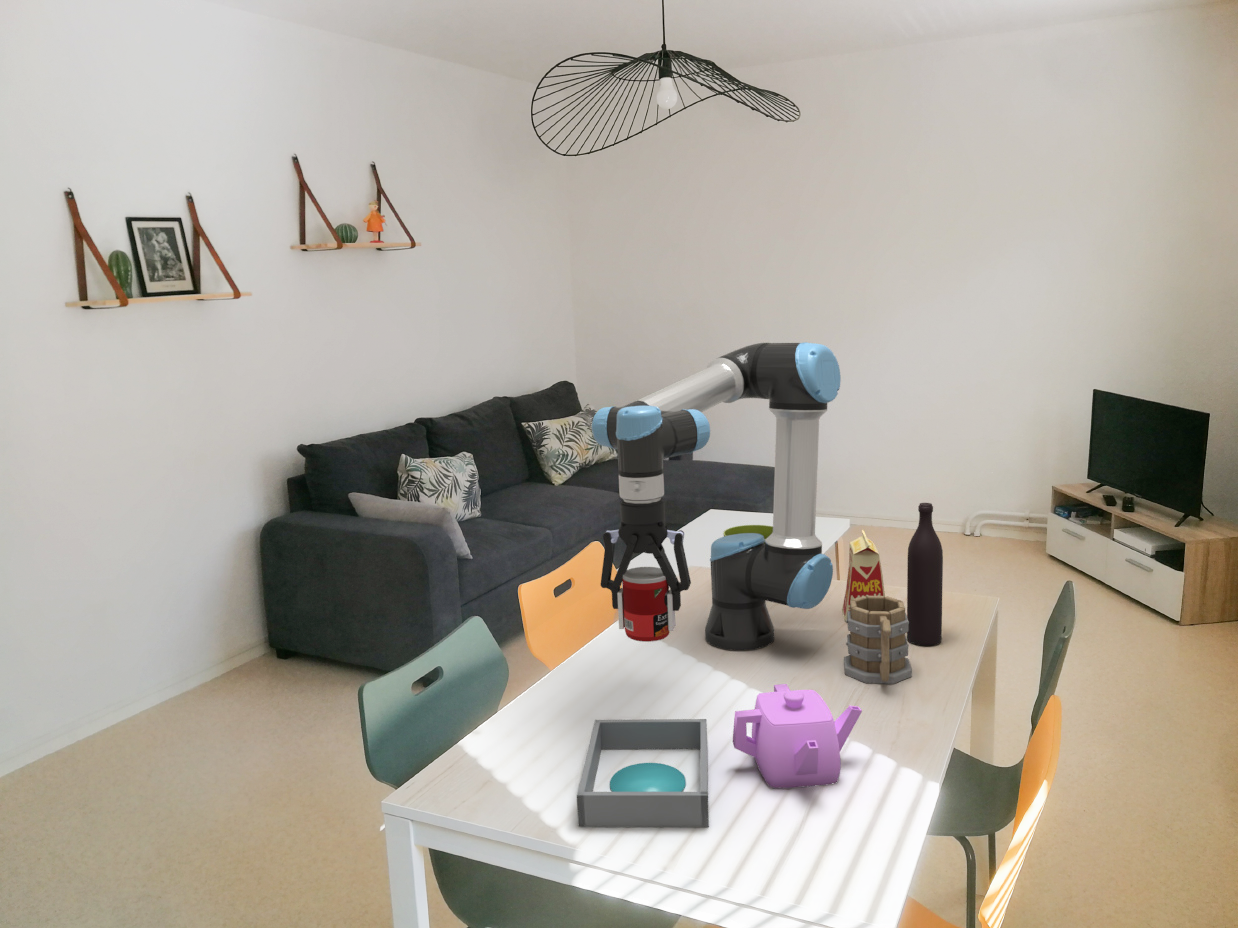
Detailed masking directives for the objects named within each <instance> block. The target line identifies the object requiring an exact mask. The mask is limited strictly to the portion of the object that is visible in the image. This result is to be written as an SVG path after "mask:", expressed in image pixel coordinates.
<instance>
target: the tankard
mask: <svg viewBox="0 0 1238 928" xmlns="http://www.w3.org/2000/svg"><path fill="white" fill-rule="evenodd" d="M905 606H906V605H905V604H904V601H902V600H900V599H897V598H895V597H894V598H893V597H891V596H890V597H889V596H887V595H885V596H866V597H865V596H862V597H859V598H856V599H853V600H851V601H850V611H848V612H847V620H846V624H847V630H848V631H849V634H847V635H846V637H847V638H846V639H847V641H846V643H845V645H846V646H847V652H848V655H846V656H844V657H843V666H844V675H846V676H848V677H850V678H853V679H856V680H858V681H860V682H862V683H864V684H876V685H878V684H883V685H895V684H897V683H899V682H901V681H904V680H906V679H908V678H911V677H912V675H913V674H912V673H913V672H912V669H913V668H912V666H911V662H910V659H909V658H908V656H909V643H908V639H907V635H906V634H907V632H908V624H909V621H908V619H907V612H906V607H905Z"/></svg>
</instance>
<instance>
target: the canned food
mask: <svg viewBox="0 0 1238 928" xmlns="http://www.w3.org/2000/svg"><path fill="white" fill-rule="evenodd" d="M621 586H622V588H623V605H624V624H625V627H624V632H625V635H626V637H627V638H628V639H631V640H633V641H636V642H647V643H649V642H657V641H661V640H664V639H665V638H667V637H669V635H670V632H671V631H669V628H668V601H667V594H668V592H669V590H670V587H669V585H668V583H667V581H666V578H665V576H664V575H663V573H662V570H661V568H660V567H656V566H639V567H638V566H637V567H632V568H628V569H627V571H626V572H625V574H624V575H623V578H622V583H621Z"/></svg>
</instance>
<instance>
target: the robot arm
mask: <svg viewBox="0 0 1238 928" xmlns="http://www.w3.org/2000/svg"><path fill="white" fill-rule="evenodd" d="M841 381H842V380H841V370H840V365H839V361H838V360H837V357H836V355H835V354H834V352H833V351H832V350H831V348H829V347H828V346H827V345H825V344H821V343H813V342H812V343H811V342H806V341H805V342H760V343H753V344H751V345H746V346H744V347H740V348H739V349H735V350H733V351H730V352H727V353H725V354H723V355H721V356H719V357H716V358H714V359H712V360H711V361H710V362H709V363H708V365H707V366H706V368H704V369H702V370H701V371H698V372H696V373H693V374H692V375H690V376H687V377H685V378H683V379H681V380H679V381H677V382H674V383H672V384H670V385H668V386H666V387H663V388H662V389H659V390H657V391H655V392H653V393H650V394H648V395H646V396H643V397H642V398H640V399H637V400H635V401H633V402H630V403H628V404H626V405H623V406H620V407H617V406H613V405H612V406H605V407H602V408H600V409H599V410H597V412H596V413H595V414H594V416H593V419H592V422H591V431H592V432H591V433H592V437H593V438H594V440H595V442H596V444H598V445H600V446H601V447H606V448H611V449H613V450H617V462H618V464H617V465H618V489H619V497H620V498H621V501H620V502H619V512H620V514H619V515H620V526H619V528H618V529H615V530H614V529H607V530H606V531H605V532H604V533H603V535H602V538H603V543H604V553H603V561H602V571H601V578H600V587H601V588H602V589H607V590H610V591H611V592H610V593H611V603H612V608H613V610H617V613H618V629H619V630H625V624H624V605H623V587H622V578H623V575H624V574H625V572H626V571H627V570H628V569H629V565H630V564H631V560H632V558H633V556H634V554H641V553H642V554H643V553H645V554H647V555H648V554H651V555H653V558H654V559H655V560H656V562H657V564H658V566H659V568H661V570H662V573H663V575H664V576H665V578H666V581H667V583H668V585H669V592H668V594H667V601H668V628H669V631H670V632H673V631H674V630H675V628H676V612H679V611H680V610H681V609H680V608H681V607H682V606H681V605H682V604H681V602H682V601H681V600H682V599H681V597H682V596H681V592H683V591H688V590H689V588H690V587H691V584H692V580H691V577H690V571H689V567H688V562H687V558H686V552H685V548H684V538H685V532H684V531H683V530H682V529H681V530H680V529H679V530H678V531H675V530H669V528H668V526H667V523H666V513H665V512H666V509H665V508H666V507H665V500H664V499H663V497H664V495H665V482H664V481H665V480H664V459H665V460H666V459H668V458H673V457H677V456H682V455H685V454H686V455H687V454H688V455H689V454H692V453H694V452H697V451H699V450H702V449H703V448H704V447H705V446H706V445H707V444H708V442H709V440H710V436H711V426H710V422H709V419H708V418H707V417H706V415H705V414H704V413H703V412H705V411H707V410H709V409H711V408H713V407H716V406H717V405H719V404H721V403H725V404H731V403H734V402H736V401H739V400H743V399H764V400H768V402H769V403H768V404H769V406H768V410H769V411H770V412H771V413H772V414H773V415H774V417H775V445H774V447H775V448H774V449H775V450H774V453H775V456H774V479H773V480H774V481H773V510H772V511H773V512H772V513H773V516H772V526H773V532H772V534H771V535H770V536H769V537H768V538H767V539H766V540H765V539H764V536H763V535H761V534H757V533H742V534H734V535H729V536H725V537H724V536H722V537H718V539H715V540H714V541H713V542H712V544H711V546H710V559H709V561H710V580H711V600H712V601H711V608H710V610H709V611H710V612H709V613H708V617H707V622H706V625H705V626H704V627H705V628H704V629H705V630H704V634H705V637H704V638H705V640H706V642H707V643H708V644H709V645H711V646H713V647H715V648H718V649H721V650H726V651H728V650H729V651H751V650H752V651H753V650H757V649H758V650H759V649H762V648H765V647H768V645H771V644H772V643H773V642H774V640H775V627H774V623H773V621H772V618H771V615H770V613H769V610H768V608H767V603H766V602H770V603H775V604H779V605H783V606H787V607H789V608H791V609H792V608H793V609H795V608H798V609H804V610H809V609H813V608H816V607H817V606H818V605H819V604H820V603H821V602H822V601H823V600H824V598H825V597H826V595H827V593H828V592H829V590H830V586H831V583H832V580H833V575H834V573H833V572H834V566H833V563H832V560H831V558H830V557H829V556H827V554H825V553H822V552H823V542H822V541H821V540H820V539H819V537H817V535H816V520H817V519H816V516H817V515H816V514H817V492H818V491H817V487H818V486H817V485H818V483H817V482H818V463H819V462H818V461H819V460H818V458H819V436H820V433H819V431H820V420H821V419H820V418H821V417H822V416H823V415H824V414H825V413H826V412H827V411H828V404H829V403H830V402H833V401H834V400H835V399H836V398H837V396H838V394H839V393H838V391H840V387H841ZM619 538H620V539H621V540H622V542H623V543H624V545H626V548H625V550H624V552H623V557H622V559H621V561H620V563H619V566H618V569H617V571H616V574H615V576H614V579H612V573H613V563H614V556H615V549H616V548H615V547H616V543H617V542H618V540H619ZM666 538H668V539H669V541H670V544H672V545H673V552H674V558H675V562H676V565H677V571H678V576H679V579H678V577H677V575H676V573H675V570H674V569H673V567H672V564H671V562H670V560H669V558H668V556H667V554H666V551H665V547H664V545H663V542H664V541H665V540H666ZM764 543H765V544H764ZM679 580H680V581H679Z"/></svg>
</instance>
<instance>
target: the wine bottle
mask: <svg viewBox="0 0 1238 928" xmlns="http://www.w3.org/2000/svg"><path fill="white" fill-rule="evenodd" d="M918 512H919V518H918V526H917V527H916V530H915V531H914V533H913V535H912V537H911V539H910V541H909V544H908V549H907V569H906V570H907V575H906V576H907V580H906V581H907V582H906V584H907V586H906V587H907V588H906V590H907V593H906V597H907V598H906V615H907V619H908V621H909V624H908V632H907V633H906V639H907V642H909V643H911V644H913V645H916V646H922V647H932V646H933V647H934V646H937V645H939V644H940V643H941V642H942V639H943V638H942V637H943V636H942V630H943V629H942V628H943V578H944V577H943V572H944V571H943V570H944V566H943V565H944V559H943V558H944V555H943V554H944V553H943V552H944V551H943V546H942V543H941V541H940V538H939V536H938V534H937V533H936V530H935V529H934V526H933V512H934V506H933V504H932V503H931V502H920V503H919V505H918Z"/></svg>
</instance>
